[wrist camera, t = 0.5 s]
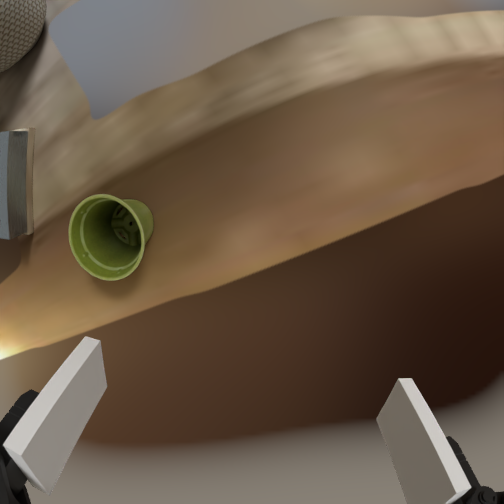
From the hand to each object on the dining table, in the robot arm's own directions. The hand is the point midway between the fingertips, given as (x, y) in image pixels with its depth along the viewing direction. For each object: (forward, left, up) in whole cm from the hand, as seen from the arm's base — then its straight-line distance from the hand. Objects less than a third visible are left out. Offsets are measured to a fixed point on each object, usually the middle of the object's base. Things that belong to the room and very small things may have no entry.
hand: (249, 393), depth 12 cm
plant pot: (0, -16, -28) cm, 32 cm away
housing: (-5, -37, -26) cm, 46 cm away
